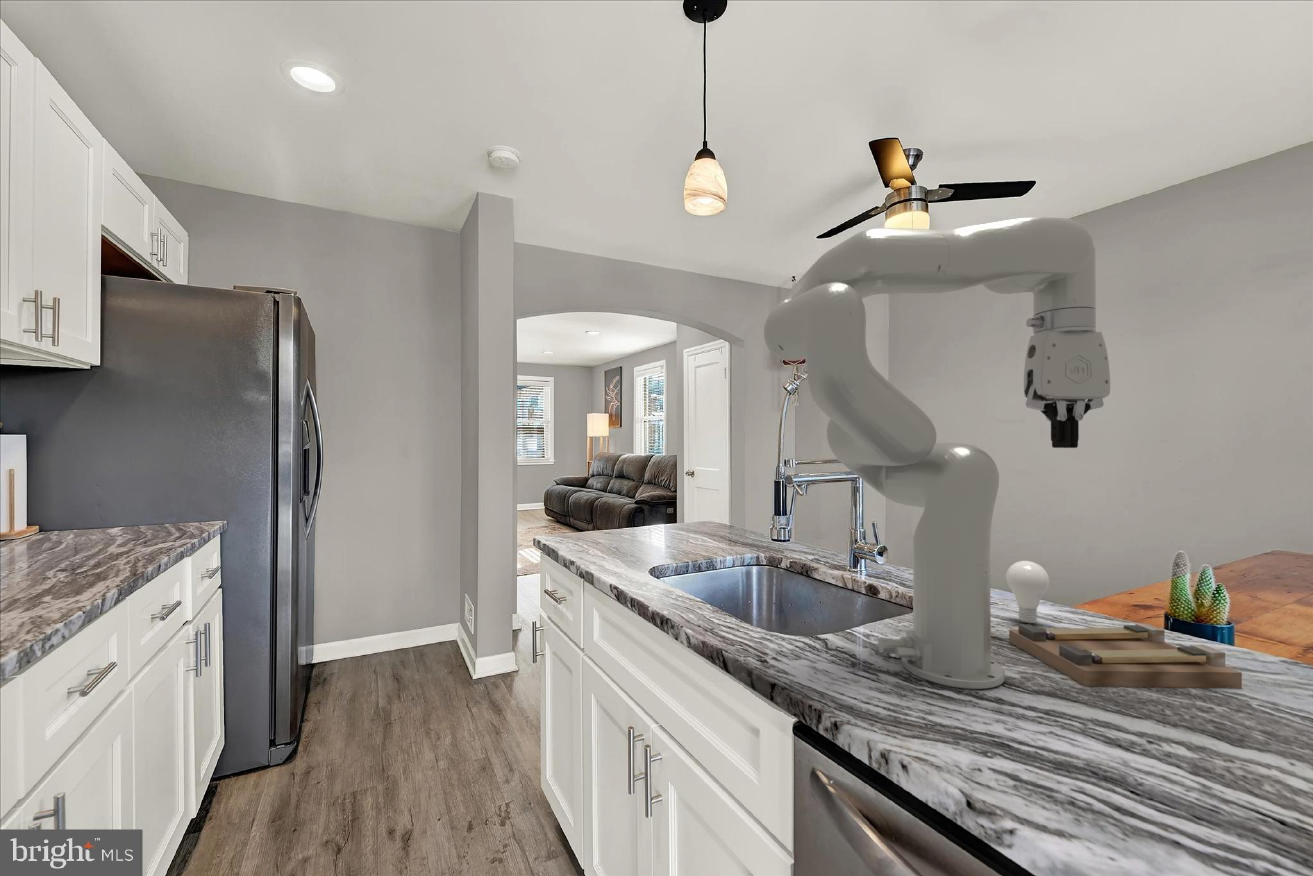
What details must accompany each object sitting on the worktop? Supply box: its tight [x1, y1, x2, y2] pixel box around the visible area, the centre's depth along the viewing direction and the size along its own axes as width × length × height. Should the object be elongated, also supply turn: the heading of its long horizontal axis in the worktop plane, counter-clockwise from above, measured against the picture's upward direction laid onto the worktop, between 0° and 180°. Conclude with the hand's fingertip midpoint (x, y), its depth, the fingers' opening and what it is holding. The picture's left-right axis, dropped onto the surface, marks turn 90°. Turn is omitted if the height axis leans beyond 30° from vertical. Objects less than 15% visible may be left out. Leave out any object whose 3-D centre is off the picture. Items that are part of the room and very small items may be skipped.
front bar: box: [1083, 646, 1206, 663], centre depth 75 cm, size 15×2×1 cm, turn 89°
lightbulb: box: [1005, 560, 1051, 625], centre depth 97 cm, size 6×6×11 cm
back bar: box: [1038, 624, 1148, 640], centre depth 84 cm, size 15×2×1 cm, turn 89°
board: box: [1008, 623, 1243, 689], centre depth 80 cm, size 20×16×4 cm
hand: (1064, 447), depth 83 cm, fingers closed
